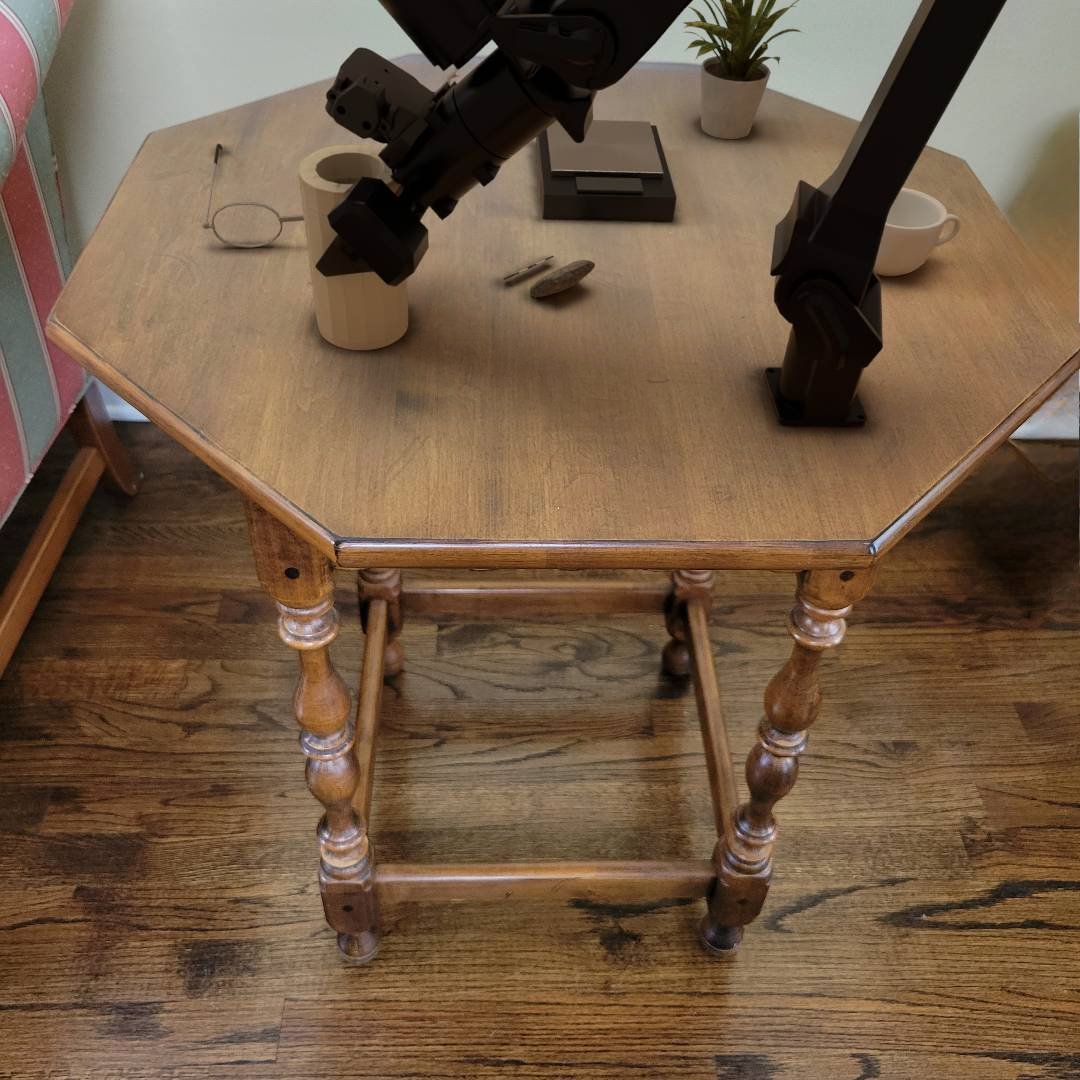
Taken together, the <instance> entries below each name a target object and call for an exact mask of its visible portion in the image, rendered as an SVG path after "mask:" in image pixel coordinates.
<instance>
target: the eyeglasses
mask: <svg viewBox="0 0 1080 1080" xmlns="http://www.w3.org/2000/svg"><path fill="white" fill-rule="evenodd" d="M220 151H221V152H223V145H222V144H220V143H217V144H216V146H215V152H214V159H213V164H214V167H213V172H212V179H211V185H210V193H209V197H208V206H207V212H206V219H205V221H203V222H202V229H204V230H207V229H212V231H213V234H214V235H215V237H216V238H217V239H218V240H219V241H220V242H222V243H223V244H227V245H230V246H231V247H237V248H251V249H252V248H259V247H263V246H267V245H268V244H271V243H273V242H274V241H275V240H277V239H278V238H279V237H280V236H281V234H282V231H283V223H292V222H304V216H303V214H292V215H291V214H290V215H280V213H279V212H278V211H277V210H276V209H274V208H273V207H271V206H269V205H268V204H265V203H261V202H256V201H255V202H254V201H237V202H231V203H227V204H225V205H223V206H221V207H219V208H217V209H216V211H215V212H214V213H213V215H212V218H211V223H209V222H208V221H209V215H210V208H211V201H212V196H213V195H212V194H213V189H214V183H215V175H216V168H217V165H218V161H219V155H220ZM234 206H256V207H261V208H264V209H266V210H269V211H271V212H272V213H273V214H275V215H276V217H277V220H278V221H279V225H280V228H279V230H278V232H277V234H276V235H274V237H272V238H270V239H269V240H267V241H264V242H260V243H254V244H253V243H251V244H246V243H245V244H244V243H236V242H233V241H229V240H227V239H224V238H223V237H221V236H220V235H219V233H218V232H217V230H216V226H215V217H216V216H217V215H218V213H219V212H222V211H223V210H225V209H226V208H230V207H234Z"/></svg>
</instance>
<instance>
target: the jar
mask: <svg viewBox="0 0 1080 1080" xmlns="http://www.w3.org/2000/svg"><path fill="white" fill-rule="evenodd" d="M381 150H382V148H377V147H374V146H369V145H363V144H342V145H335V146H329V147H324V148H321V149H319V150H316V151H314V152H311V153H309V155H307V156H306V157H305V158H304V159H302V161H300V163H299V166H298V170H297V173H298V174H297V175H298V185H299V191H300V192H299V193H300V198H301V207H302V215H303V216H304V221H303V223H304V230H305V239H306V247H307V254H308V262H309V269H310V270H309V271H310V278H311V286H312V294H313V295H312V296H313V302H314V309H315V310H314V311H315V318H316V323H317V326H318V327H317V328H318V331H319V333H320V335H321V336H322V337H323V338H324V339H325V341H326V342H327V343H330V344H332V345H333V346H336V347H338V348H342V349H346V350H352V351H370V350H371V351H373V350H377V349H381V348H384V347H387V346H389V345H392V344H395V342H398V341H399V340H400V339H401V338H402V337H403V336H404V335H405V333H406V332H407V331H408V327H409V300H408V282H407V281H408V280H407V279H408V278H406V279H405V280H404V281H403V282H401V283H400V284H399V285H397V286H396V287H395V286H390V285H387V284H386V283H385V282H384V281H383V280H382V279H381V278H380V277H379V276H378V275H377V274H376V273H375V272H366V273H356V274H348V275H339V276H331V277H325V276H323V275H322V274H321V273H320V272H319V271H318V270H317V269H316V267H315V265H316V264H317V262H318V261H319V259H320V258H321V257H322V255H323V254H324V252H325V251H326V250H327V248H328V247H329V245H330V244H331V243H332V241H333V240H334V238H335V237H336V236H337V233H336V232H335V231H334V230H333V229H332V228H331V227H330V224H329V221H328V217H327V215H328V214H329V212H330V211H331V210H332V208H333V207H334V206H335V204H336V203H337V202H338V200H339V199H340V198H341V197H342V196H343V194H344V193H345V192H346V190H347V189H349V188H350V187H351V186H352V185H353V184H354V183H355V182H356V181H358V180H359V179H360V178H361V177H362V176H364V177H371V178H377V179H382V180H383V181H384V183H385V184H386V185H387V186H388V187H389V188H390V189H391V190H392V191H393V192H394V193H396V191H397V190H398V188H399V187H400V185H401V184H397V183H396V182H394V181H393V179H392V178H391V177H390V176H389V174H388V173H389V171H390V168H389V167H388V166H387V165H386V164H385V163H384V162H383V161H382V159H381V158H380V157H379V156H378V154H379V153H380V151H381Z"/></svg>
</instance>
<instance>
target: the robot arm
mask: <svg viewBox="0 0 1080 1080" xmlns="http://www.w3.org/2000/svg"><path fill="white" fill-rule="evenodd" d="M1007 1H1008V0H921V1H920V3H919V6H918V8H917V9H916V12H914V13H915V14H914V15H913V18H912V20H911V21H910V23H909V26H908V27H907V29H906V31H905V33H904V35H903V37H902V39H901V42H900V44H899V45H898V47H897V49H896V51H895V53H894V55H893V57H892V59H891V61H890V63H889V65H888V67H887V69H886V70H885V73H884V75H883V77H882V79H881V81H880V83H879V85H878V87H877V89H876V91H875V92H874V95H873V97H872V99H871V101H870V102H869V105H868V107H867V108H866V110H865V113H864V115H863V116H862V118H861V120H860V123H859V124H858V125H857V126H858V127H857V128H856V130H855V133H854V134H853V136H852V139H851V141H850V142H849V144H848V147H847V149H846V150H845V153H844V154H843V156H842V158H841V160H840V162H839V164H838V166H837V167H836V168H835V170H834V171H833V173H831V174H830V176H828V178H827V179H825V180H824V182H822V183H821V184H820V185H819V186H818V187H815V186H813V185H811V184H810V183H808V182H807V181H805V180H803V179H799V180H798V183H797V185H796V189H795V192H794V195H793V199H792V203H791V205H790V208H789V210H788V212H787V213H786V214H785V216H784V217H783V218H782V219H781V220H780V221H779V222H778V223H777V224H776V225H775V226H774V227H775V228H774V237H773V245H772V254H771V263H770V264H771V265H770V269H769V270H770V271H769V275H770V276H771V277H775V279H774V290H773V303H774V305H775V306H776V308H777V310H778V313H779V314H780V315H781V317H782V318H783V319H785V320H786V321H787V323H789V324H791V328H790V332H789V336H788V339H787V344H786V349H785V352H784V356H783V360H782V362H781V367H779V366H776V367H775V366H769V367H766V368H765V369H764V372H763V378H764V380H765V383H766V386H767V390H768V393H769V397H770V400H771V402H772V405H773V409H774V411H775V414H776V417H777V420H778V422H779V423H780V424H781V425H784V426H835V427H836V426H840V427H842V426H843V427H844V426H846V427H848V426H849V427H863V426H865V425H866V424H867V421H868V416H867V414H866V411H865V408H864V406H863V403H862V401H861V398H860V397H859V394H858V389H859V386H860V383H861V379H862V377H863V374H864V371H865V368H868V367H869V366H870V365H871V363H872V362H873V361H874V359H875V358H876V357H877V355H879V353H880V352H881V351H882V350H883V348H884V339H883V338H884V337H883V336H884V335H883V334H884V333H883V304H882V303H883V301H882V297H883V296H882V280H881V278H880V276H879V275H878V274H876V273H875V272H874V270H873V269H874V266H875V262H876V258H877V254H878V251H879V247H880V243H881V239H882V235H883V231H884V228H885V224H886V220H887V217H888V214H889V211H890V208H891V206H892V205H893V203H894V201H895V199H896V198H897V196H898V194H899V192H900V190H901V189H902V187H903V188H904V185H905V184H906V182H907V180H908V178H909V176H910V174H911V173H912V171H913V169H914V167H915V165H916V164H917V162H918V160H919V159H920V157H921V154H922V153H923V151H924V149H925V147H927V144H928V142H929V140H930V138H931V137H932V135H933V133H934V132H935V130H936V128H937V127H938V125H939V123H940V121H941V119H942V117H943V115H944V114H945V112H946V111H947V109H948V106H949V105H950V103H951V101H952V100H953V97H954V96H955V94H956V92H957V90H958V89H959V87H960V85H961V83H962V82H963V80H964V78H965V76H966V74H967V72H968V71H969V69H970V67H971V65H972V63H973V62H974V60H975V58H976V56H977V55H978V53H979V51H980V49H981V47H982V45H983V44H984V42H985V41H986V39H987V37H988V36H989V33H990V32H991V29H992V28H993V26H994V24H995V22H996V21H997V19H998V18H999V16H1000V14H1001V12H1002V10H1003V9H1004V6H1006V3H1007ZM377 2H378V3H379V4H380V5H381V6H382V7H383V9H384V10H385V11H386V12H387V13H388V15H389V16H390V17H391V18H392V19H393V20H394V22H395V23H396V24H397V25H398V26H399V28H400V29H401V30H402V31H403V33H405V35H406V36H407V37H408V38H409V39H410V40H411V41H412V43H413V44H414V45H415V47H416V48H417V49H418V50H419V52H421V53H422V54H423V55H424V57H425V58H426V59H427V60H428V61H429V63H430V64H431V65H432V66H433V67H434V68H435V67H439V68H440V69H441V70H442V72H445V71H446V70H448V69H449V68H450V67H451V66H454V67H456V69H457V70H458V69H459V70H461V68H463V67H464V66H466V65H467V64H468V63H469V62H470V61H471V60H472V59H473V58H475V57H476V55H477V54H478V53H480V52H481V51H482V50H483V49H484V48H485V47H486V46H487V45H488V44H489V43H490V42H491V41H492V42H494V44H495V45H496V46H497V47H496V48H495V49H493V51H492V52H490V53H489V54H488V55H487V56H486V57H485V58H484V59H483V60H482V61H480V63H478V64H477V65H476V66H475V67H474V68H472V69H471V71H469V72H468V73H467V74H466V75H465V76H463V78H462V79H461V80H459V81H458V82H456V80H453V82H452V83H450V84H449V83H448V82H446V83H445V84H444V85H443V86H441V85H440V87H439V88H438V89H437V90H435V91H432V90H430V89H429V88H428V87H426V86H425V85H424V84H422V83H420V81H419V80H418V79H417V78H416V77H415V76H414V75H412V74H411V73H409V72H407V71H406V70H404V69H403V68H401V67H399V66H397V65H396V64H395V63H393V62H391V61H390V60H388V59H386V58H385V57H383V56H382V55H380V54H378V53H377V52H376V51H373V50H372V49H370V48H366V47H361V46H360V47H357V48H355V49H354V50H353V52H352V53H351V54H350V55H349V56H348V57H347V58H346V59H345V60H344V61H343V62H342V64H341V65H340V67H339V69H338V72H337V74H336V77H335V79H334V81H333V84H332V86H331V87H330V88H329V89H328V91H327V92H326V94H325V98H326V100H327V101H326V103H325V106H324V110H325V112H326V113H327V115H328V116H329V117H330V118H331V119H333V121H334V123H336V124H337V125H339V126H340V127H342V128H344V129H346V130H347V131H349V132H351V134H353V135H355V136H357V137H358V138H361V139H363V140H367V139H372V140H373V141H375V142H377V143H380V144H386V145H385V146H384V147H382V148H381V151H380V153H379V154H378V156H379V157H380V158H381V159H382V161H383V162H384V163H385V164H386V165H387V166H388V167H389V168H390V171H389V173H388V174H389V176H390V177H391V178H392V179H393V181H394V182H396V183H397V184H401V185H400V187H399V188H398V190H397V191H396V193H394V192H393V191H392V190H391V189H390V188H389V187H388V186H387V185H386V184H385V183H384V181H383V180H382V179H377V178H371V177H364V176H362V177H361V178H360V179H359V180H358V181H356V182H355V183H354V184H353V185H352V186H351V187H350V188H349V189H347V190H346V192H345V193H344V194H343V196H342V197H341V198H340V199H339V200H338V202H337V203H336V204H335V206H334V207H333V208H332V210H331V211H330V212H329V214H328V215H327V217H328V221H329V224H330V227H331V228H332V229H333V230H334V231H335V232H336V233H337V236H336V237H335V238H334V240H333V241H332V243H331V244H330V245H329V247H328V248H327V250H326V251H325V252H324V254H323V255H322V257H321V258H320V259H319V261H318V262H317V264H316V265H315V267H316V269H317V270H318V271H319V272H320V273H321V274H322V275H323V276H325V277H331V276H339V275H348V274H356V273H366V272H375V273H376V274H377V275H378V276H379V277H380V278H381V279H382V280H383V281H384V282H385V283H386V284H387V285H390V286H395V287H396V286H397V285H399V284H400V283H401V282H403V281H404V280H405V279H408V278H409V277H410V276H412V275H413V274H414V273H415V272H416V270H417V268H418V267H419V265H420V263H421V261H422V260H423V258H424V256H425V255H426V253H427V252H428V249H429V248H430V245H429V243H430V241H429V237H430V236H429V229H428V228H427V227H426V226H425V224H424V223H423V222H422V221H421V220H422V218H423V217H424V216H425V214H426V212H427V210H428V209H429V208H430V209H431V210H432V211H433V212H434V213H435V215H436V216H438V218H439V219H440V220H441V221H444V220H445V219H446V218H447V217H449V216H450V215H452V213H453V212H454V210H455V209H456V207H457V205H458V203H459V201H460V200H461V199H462V198H463V197H464V196H466V194H468V193H469V192H470V191H471V190H472V189H474V188H476V187H477V186H478V185H479V184H480V185H481V186H482V187H483V188H485V187H486V186H487V185H489V184H490V183H491V182H493V181H494V180H495V179H496V177H497V174H498V173H499V171H500V170H501V168H502V166H503V164H505V163H506V162H508V161H509V160H510V159H511V158H512V157H514V156H515V155H516V154H518V153H519V152H520V151H521V150H522V149H523V148H525V147H526V146H527V145H528V144H529V143H531V142H532V141H533V140H534V139H536V137H537V136H538V135H539V134H541V133H542V132H543V131H544V130H546V129H547V128H548V127H549V126H550V125H552V124H553V123H554V122H555V121H558V122H559V123H560V125H561V126H562V127H563V128H564V130H565V131H566V132H567V133H568V135H569V136H570V137H571V138H572V139H573V141H574V142H576V143H582V142H583V141H584V139H585V137H586V135H587V132H588V130H589V128H590V125H591V123H592V121H593V120H594V101H595V98H596V96H597V94H598V91H604V90H605V89H607V88H610V87H611V86H614V85H616V84H617V83H618V82H619V81H621V80H622V79H623V78H624V77H625V75H627V74H628V73H629V72H630V70H631V69H633V68H634V66H636V65H637V63H638V62H639V61H640V60H641V59H642V58H643V57H644V56H645V55H646V54H647V53H648V52H649V51H650V50H651V49H652V48H654V46H655V45H656V44H657V43H658V41H660V39H661V38H662V37H663V35H664V34H665V33H666V32H667V30H669V28H671V26H672V25H673V24H674V22H675V21H676V20H677V19H678V18H679V16H680V15H681V14H682V13H683V12H684V11H685V9H686V8H687V7H688V6H689V5H690V4H691V3H692V2H694V0H377ZM459 70H458V71H459Z"/></svg>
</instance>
